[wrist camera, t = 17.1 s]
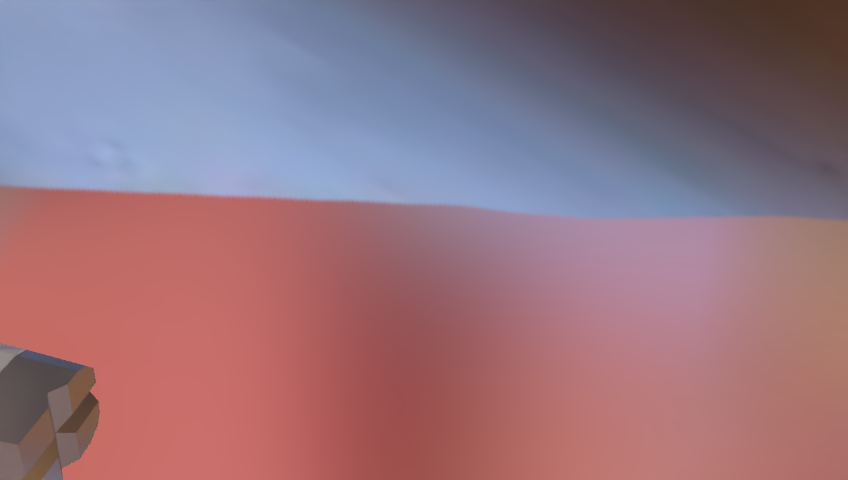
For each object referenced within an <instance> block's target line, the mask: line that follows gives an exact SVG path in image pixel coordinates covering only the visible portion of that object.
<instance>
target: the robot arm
mask: <svg viewBox="0 0 848 480" xmlns="http://www.w3.org/2000/svg"><path fill="white" fill-rule="evenodd" d="M95 383H96V379H95V373H94V369H93V368H92V367H88V366H84V365H81V364H77V363H73V362H70V361H66V360H62V359H59V358H55V357H51V356H47V355H44V354H40V353H36V352H32V351H29V350H25V349H21V348H17V347H14V346H10V345H6V344H1V343H0V480H63V477H62V468H63V467H65V466H67V465H69V464H71V463H73V462H75V461H76V460H79V459H80V458H81V456H82V455H83V453H84V452H85V450H86V449H87V447H88V446H89V444H90V443H91V440H92V438H93V436H94V433H95V431H96V428H97V426H98V420H99V414H100V410H99V402H98V400H97V399H96V398H95V397H94V396H93V395H92V394H91V392H90V390H91V389H92V387H93V386H94V384H95Z"/></svg>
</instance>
